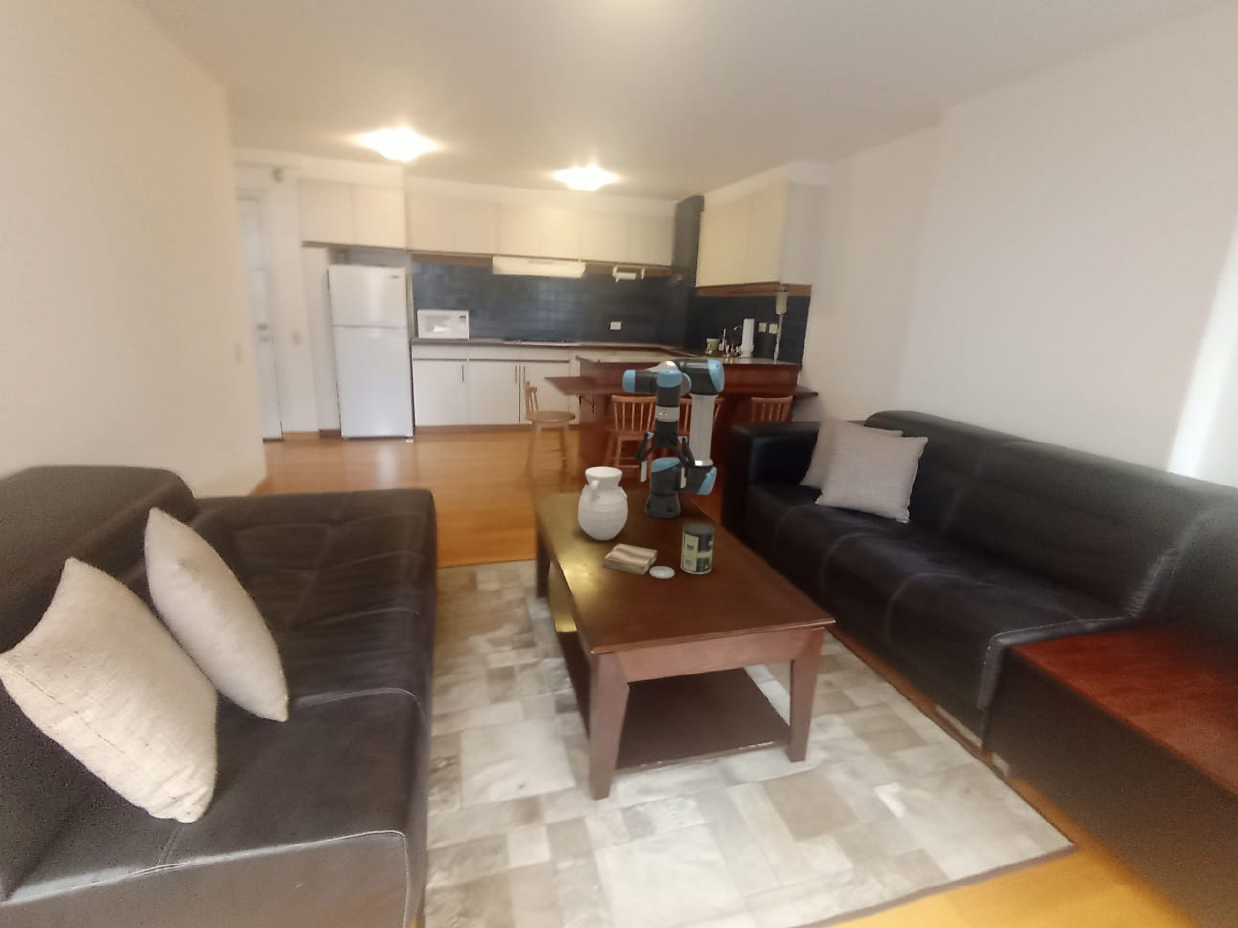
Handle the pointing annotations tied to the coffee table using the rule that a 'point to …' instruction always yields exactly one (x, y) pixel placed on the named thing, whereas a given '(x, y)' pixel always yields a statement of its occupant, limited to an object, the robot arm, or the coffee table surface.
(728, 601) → the coffee table surface
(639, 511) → the coffee table surface
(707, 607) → the coffee table surface
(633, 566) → the folded beige cloth
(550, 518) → the coffee table surface
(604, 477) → the pitcher
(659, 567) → the coaster
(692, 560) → the coffee can
